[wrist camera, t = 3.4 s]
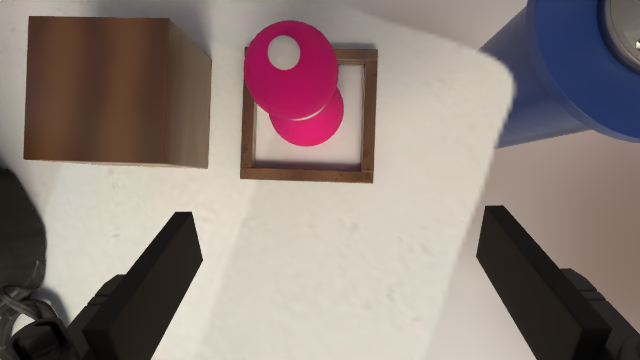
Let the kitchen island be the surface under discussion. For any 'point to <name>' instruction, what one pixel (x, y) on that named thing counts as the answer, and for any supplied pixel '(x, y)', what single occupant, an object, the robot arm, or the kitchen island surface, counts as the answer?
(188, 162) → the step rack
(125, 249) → the kitchen island surface
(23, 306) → the coffee maker
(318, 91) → the pepper mill
